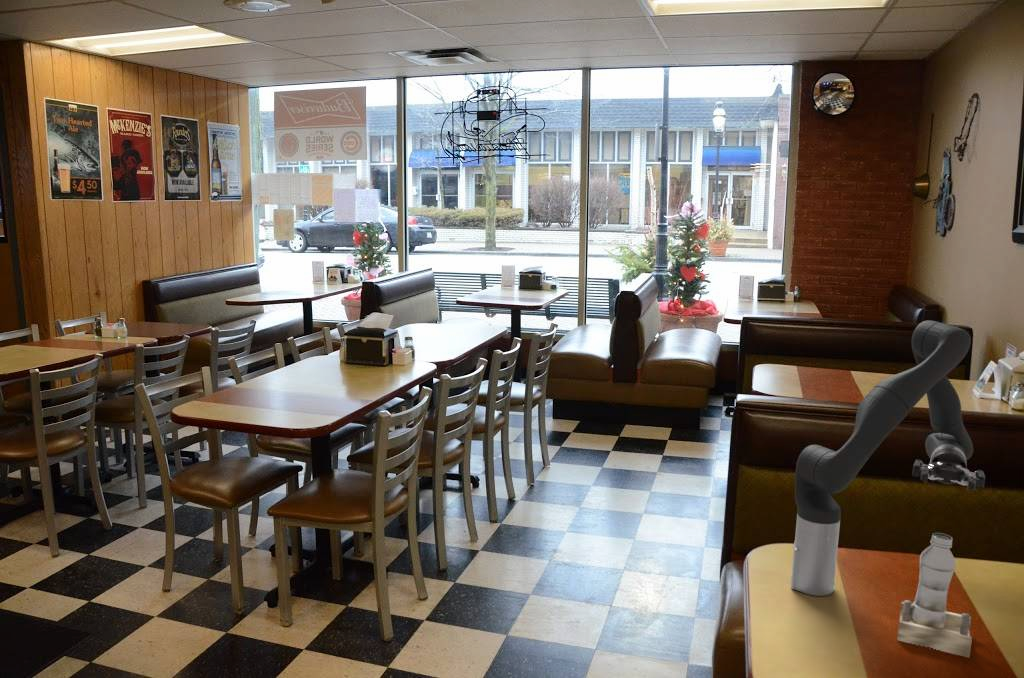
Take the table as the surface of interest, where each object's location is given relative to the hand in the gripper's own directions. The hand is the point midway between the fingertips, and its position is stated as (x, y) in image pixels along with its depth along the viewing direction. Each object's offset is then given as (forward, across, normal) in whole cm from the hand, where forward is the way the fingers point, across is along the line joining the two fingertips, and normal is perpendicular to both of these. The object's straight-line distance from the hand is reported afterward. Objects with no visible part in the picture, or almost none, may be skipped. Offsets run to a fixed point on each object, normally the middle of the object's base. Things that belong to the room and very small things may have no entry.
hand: (947, 482), depth 179 cm
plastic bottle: (+15, -1, +27) cm, 31 cm away
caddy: (+16, +1, +29) cm, 33 cm away
